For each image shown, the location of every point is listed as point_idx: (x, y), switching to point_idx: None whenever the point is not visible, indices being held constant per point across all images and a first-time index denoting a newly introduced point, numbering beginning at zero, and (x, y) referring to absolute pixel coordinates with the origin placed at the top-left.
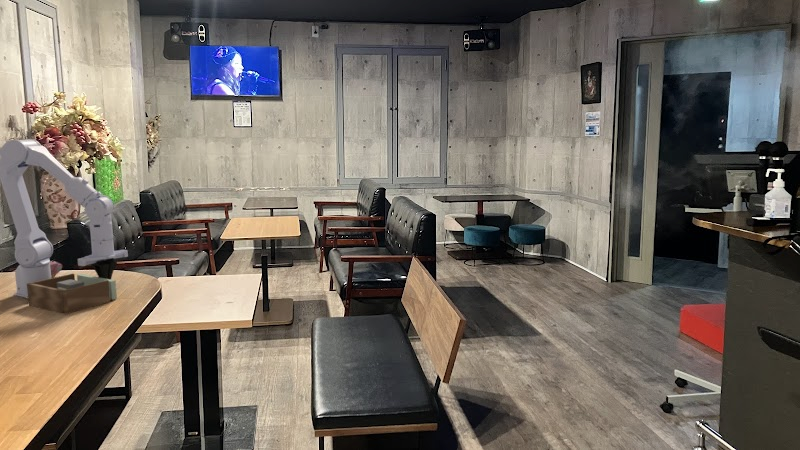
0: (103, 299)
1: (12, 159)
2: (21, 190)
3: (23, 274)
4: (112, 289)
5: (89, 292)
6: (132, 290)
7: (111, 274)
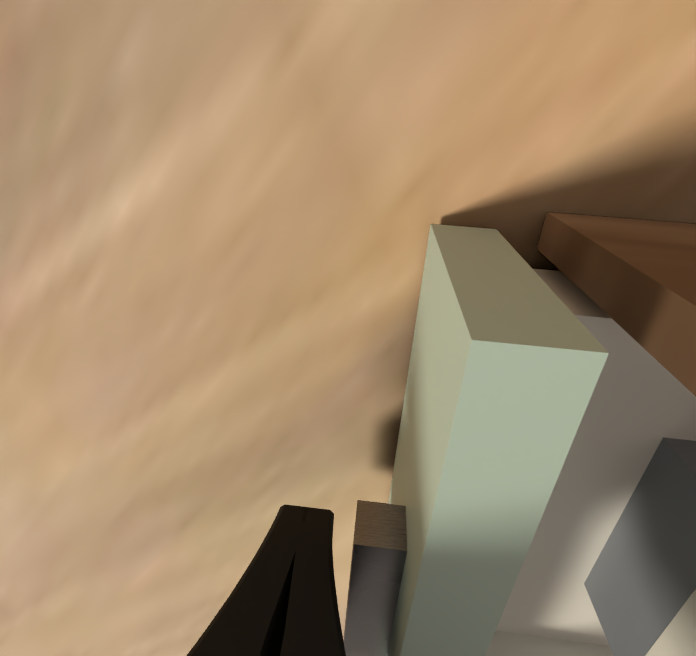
0: (670, 233)
1: None
2: None
3: None
4: (520, 273)
5: None
6: (106, 350)
7: (217, 638)
